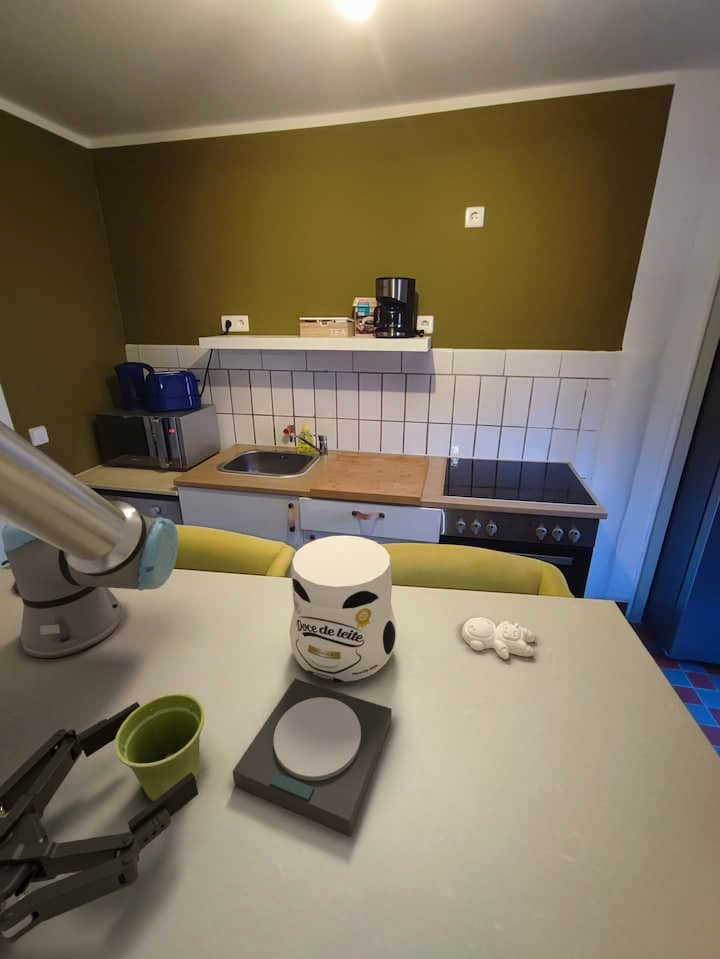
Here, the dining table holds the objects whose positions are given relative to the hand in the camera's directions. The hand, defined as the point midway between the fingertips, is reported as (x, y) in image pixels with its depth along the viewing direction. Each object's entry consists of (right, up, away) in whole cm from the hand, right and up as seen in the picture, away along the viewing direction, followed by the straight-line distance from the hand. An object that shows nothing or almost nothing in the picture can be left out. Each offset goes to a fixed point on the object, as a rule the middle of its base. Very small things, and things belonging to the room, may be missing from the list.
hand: (165, 743), depth 50 cm
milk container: (+20, +2, +22) cm, 30 cm away
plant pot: (0, -6, +2) cm, 6 cm away
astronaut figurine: (+47, +3, +24) cm, 53 cm away
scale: (+17, -4, +5) cm, 19 cm away
